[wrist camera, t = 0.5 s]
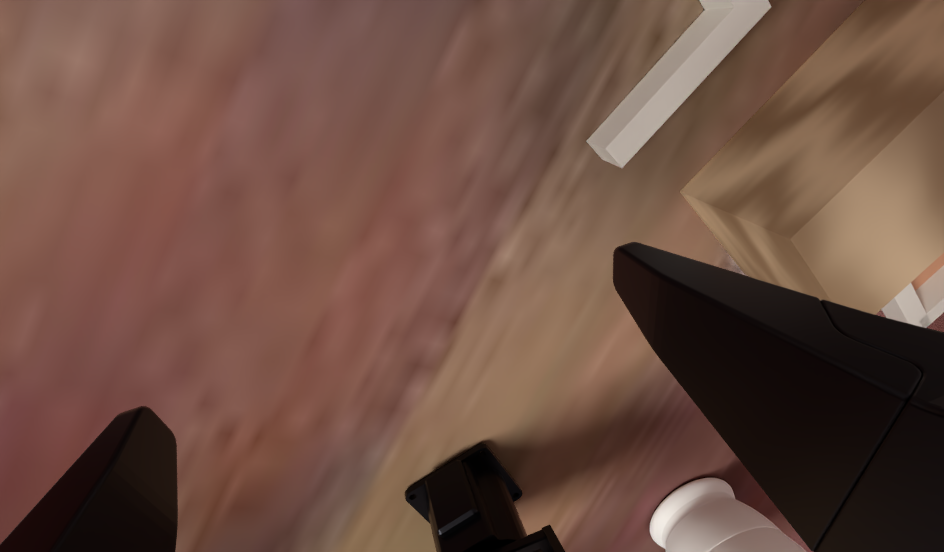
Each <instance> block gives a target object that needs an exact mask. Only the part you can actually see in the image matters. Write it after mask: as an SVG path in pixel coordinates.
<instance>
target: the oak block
mask: <svg viewBox="0 0 944 552" xmlns="http://www.w3.org/2000/svg"><path fill="white" fill-rule="evenodd" d="M680 193H681V194H682V195H683V196H684V198H685V199H686V200H687V202H688V203H689V204H690V205H691V207H692V208H693V209H694V210H695V212H696V213H697V214H698V215H699V217H700V218H701V219H702V221H703V222H704V223H705V224H706V226H707V227H708V228H709V229H710V231H711V232H712V233H713V234H714V236H715V237H716V238H717V239H718V241H719V242H720V243H721V245H722V246H723V247H724V248H725V250H726V251H727V252H728V253H729V255H730V256H731V257H732V258H733V260H734V261H735V262H736V264H737V265H738V266H739V267H740V269H741V270H742V271H743V272H744V274H746V275H748V276H750V277H752V278H755V279H758V280H762V281H765V282H768V283H771V284H775V285H778V286H781V287H784V288H788V289H791V290H794V291H798V292H801V293H804V294H807V295H811V296H814V297H817V298H819V300H822V299H824V300H827V301H831V302H834V303H837V304H840V305H844V306H847V307H850V308H854V309H857V310H861V311H864V312H868V313H871V314H874V315H875V314H877V313H878V312H879V311H880V310H881V309H882V308H883V307H884V306H885V305H887V304H888V303H889V302H890V301H891V300H892V299H893V298H894V297H895V296H896V295H898V294H899V293H900V292H901V291H902V290H903V289H904V288H905V287H906V286H908V285H909V284H910V283H911V282H912V281H913V280H914V279H915V278H916V277H917V276H919V275H920V274H921V273H922V272H923V271H924V270H925V269H926V268H927V267H928V266H930V265H931V264H932V263H933V262H934V261H935V260H936V259H937V258H938V257H940V256H941V255H942V254H943V253H944V0H865V1H864V2H863V3H862V4H861V5H860V6H859V7H858V8H857V9H856V10H855V11H854V12H853V13H852V14H851V15H850V16H849V17H848V18H847V19H846V20H845V21H844V22H843V23H842V24H841V25H840V26H839V27H838V28H837V30H836V31H835V32H834V33H833V34H832V35H831V36H830V37H829V38H828V39H827V40H826V41H825V42H824V43H823V44H822V45H821V46H820V47H819V48H818V49H817V50H816V51H815V52H814V53H813V54H812V55H811V56H810V57H809V58H808V59H807V61H806V62H805V63H804V64H803V65H802V66H801V67H800V68H799V69H798V70H797V71H796V72H795V73H794V74H793V75H792V76H791V77H790V78H789V79H788V80H787V81H786V82H785V83H784V84H783V85H782V86H781V87H780V88H779V89H778V90H777V92H776V93H775V94H774V95H773V96H772V97H771V98H770V99H769V100H768V101H767V102H766V103H765V104H764V105H763V106H762V107H761V108H760V109H759V110H758V111H757V112H756V113H755V114H754V115H753V116H752V117H751V118H750V119H749V120H748V121H747V123H746V124H745V125H744V126H743V127H742V128H741V129H740V130H739V131H738V132H737V133H736V134H735V135H734V136H733V137H732V138H731V139H730V140H729V141H728V142H727V143H726V144H725V145H724V146H723V147H722V148H721V149H720V150H719V151H718V152H717V154H716V155H715V156H714V157H713V158H712V159H711V160H710V161H709V162H708V163H707V164H706V165H705V166H704V167H703V168H702V169H701V170H700V171H699V172H698V173H697V174H696V175H695V176H694V177H693V178H692V179H691V180H690V181H689V182H688V184H687V185H686V186H685V187H684V188H683V189H682V190H681V191H680Z"/></svg>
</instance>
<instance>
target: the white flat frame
mask: <svg viewBox="0 0 944 552" xmlns="http://www.w3.org/2000/svg"><path fill="white" fill-rule="evenodd" d="M699 1H700V3H701V4H702V6H703V8H704V9H705V10H704V11H703V12H702V13H701V14H700V16H699V17H698V18H697V19H696V20H695V21H694V22H693V23H692V24H691V25H690V27H689V28H688V29H687V30H686V31H685V32H684V33H683V34H682V35H681V37H680V38H679V39H678V40H677V41H676V42H675V43H674V44H673V45H672V47H671V48H670V49H669V50H668V51H667V52H666V53H665V54H664V55H663V57H662V58H661V59H660V60H659V61H658V62H657V63H656V64H655V65H654V67H653V68H652V69H651V70H650V71H649V72H648V73H647V74H646V75H645V76H644V78H643V79H642V80H641V81H640V82H639V83H638V84H637V85H636V86H635V88H634V89H633V90H632V91H631V92H630V93H629V94H628V95H627V96H626V98H625V99H624V100H623V101H622V102H621V103H620V104H619V105H618V106H617V108H616V109H615V110H614V111H613V112H612V113H611V114H610V115H609V116H608V118H607V119H606V120H605V121H604V122H603V123H602V124H601V125H600V126H599V128H598V129H597V130H596V131H595V132H594V133H593V134H592V135H591V136H590V137H589V139H588V140H587V141H586V142H587V143H588V144H589V145H590V146H591V147H592V148H593V150H594V151H595V152H596V153H597V154H598V155H599V156H600V157H601V159H602V160H604V161H607V162H609V163H611V164H614V165H616V166H618V167H621V168H623V167H624V166H625V164H626V163H627V162H628V161H629V160H630V159H631V158H632V157H633V156H634V155H635V154H636V153H637V152H638V150H639V149H640V148H641V147H642V146H643V145H644V144H645V143H646V142H647V141H648V140H649V139H650V138H651V136H652V135H653V134H654V133H655V132H656V131H657V130H658V129H659V128H660V127H661V126H662V125H663V123H664V122H665V121H666V120H667V119H668V118H669V117H670V116H671V115H672V114H673V113H674V112H675V111H676V109H677V108H678V107H679V106H680V105H681V104H682V103H683V102H684V101H685V100H686V99H687V98H688V96H689V95H690V94H691V93H692V92H693V91H694V90H695V89H696V88H697V87H698V86H699V85H700V84H701V82H702V81H703V80H704V79H705V78H706V77H707V76H708V75H709V74H710V73H711V72H712V71H713V70H714V68H715V67H716V66H717V65H718V64H719V63H720V62H721V61H722V60H723V59H724V58H725V57H726V55H727V54H728V53H729V52H730V51H731V50H732V49H733V48H734V47H735V46H736V45H737V44H738V43H739V41H740V40H741V39H742V38H743V37H744V36H745V35H746V34H747V33H748V32H749V31H750V30H751V28H752V27H753V26H754V25H755V24H756V23H757V22H758V21H759V20H760V19H761V18H762V17H763V16H764V14H765V13H766V12H767V11H768V10H769V9H770V8H771V5H770V3H769V1H768V0H699ZM882 311H883V313H884V314H885V316H886V318H889V319H893V320H897V321H901V322H905V323H908V324H912V325H916V326H920V327H924V328H927V327H928V326H929V325H930V324H931V323H932V322H933V321H934V320H936V319H937V318H938V317H939V316H940V315H941V314H942V313H943V312H944V253H943V254H942V255H941V256H940V257H938V258H937V259H936V260H935V261H934V262H933V263H932V264H931V265H930V266H928V267H927V268H926V269H925V270H924V271H923V272H922V273H921V274H920V275H919V276H917V277H916V278H915V279H914V280H913V281H912V282H911V283H910V284H909V285H908V286H906V287H905V288H904V289H903V290H902V291H901V292H900V293H899V294H898V295H896V296H895V297H894V298H893V299H892V300H891V301H890V302H889V303H888V304H887V305H885V306H884V307H883V308H882Z"/></svg>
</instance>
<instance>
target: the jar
mask: <svg viewBox="0 0 944 552" xmlns="http://www.w3.org/2000/svg"><path fill="white" fill-rule="evenodd" d="M650 534H651V537H652V539H653V540H654V541H655V542H656V543H657V544H658V545H660V546H661V547H663V548H665V549H666V552H807V551H806V550H804V549H803V548H802V547H801V546H800V545H799V544H797V543H796V542H795V541H793V540H792V539H791V538H789V537H788V536H787V535H785V534H784V533H783V532H782V531H781V530H780V529H779V528H778V527H777V526H776V525H774V524H773V523H772V522H771V521H770V520H769V519H767V518H766V517H765V516H763V515H762V514H761V513H759V512H758V511H756V510H755V509H753V508H752V507H750V506H748V505H746V504H744V503H742V502H740V501H738V500H735V496H734V492H733V490H732V488H731V487H730V485H729V484H728V483H727V482H725V481H723V480H721V479H718V478H703V479H698V480H695V481H692V482H689V483H687V484H685V485H683V486H681V487H680V488H678V489H677V490H675V491H674V492H672V493H671V494H670V495H669V496H667V497H666V498H665V499H664V500H663V501H662V502H661V504H660V505H659V506H658V508H657V509H656V510H655V512H654V514H653V516H652V518H651V522H650Z"/></svg>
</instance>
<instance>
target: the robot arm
mask: <svg viewBox="0 0 944 552" xmlns="http://www.w3.org/2000/svg"><path fill="white" fill-rule="evenodd" d="M613 283H614V286H615V289H616V291H617V293H618V294H619V296H620V298H621V299H622V301H623V302H624V304H625V306H626V307H627V309H628V311H629V312H630V314H631V315H632V317H633V319H634V320H635V322H636V323H637V325H638V327H639V328H640V330H641V332H642V333H643V335H644V336H645V338H646V340H647V341H648V343H649V344H650V346H651V347H652V349H653V350H654V351H655V353H656V354H657V355H658V357H659V358H660V359H661V361H662V362H663V363H664V364H665V366H666V367H667V368H668V370H669V371H670V372H671V373H672V375H673V376H674V377H675V378H676V380H677V381H678V382H679V384H680V385H681V386H682V387H683V389H684V390H685V391H686V392H687V394H688V395H689V396H690V397H691V399H692V400H693V401H694V403H695V404H696V405H697V406H698V408H699V409H700V410H701V411H702V413H703V414H704V415H705V416H706V418H707V419H708V420H709V422H710V423H711V424H712V425H713V427H714V428H715V429H716V430H717V432H718V433H719V434H720V436H721V437H722V438H723V439H724V441H725V442H726V443H727V444H728V446H729V447H730V448H731V449H732V451H733V452H734V453H735V455H736V456H737V457H738V458H739V460H740V461H741V462H742V463H743V465H744V466H745V467H746V468H747V470H748V471H749V472H750V474H751V475H752V476H753V477H754V479H755V480H756V481H757V482H758V484H759V485H760V486H761V488H762V489H763V490H764V491H765V493H766V494H767V495H768V496H769V498H770V499H771V500H772V501H773V503H774V504H775V505H776V507H777V508H778V509H779V510H780V512H781V513H782V514H783V515H784V517H785V518H786V519H787V520H788V522H789V523H790V524H791V526H792V527H793V528H794V529H795V531H796V532H797V533H798V534H799V536H800V537H801V538H802V540H803V541H804V542H805V543H806V545H807V546H808V547H809V548H810V550H811V551H814V552H944V332H940V331H936V330H932V329H928V328H924V327H920V326H916V325H912V324H908V323H905V322H901V321H897V320H893V319H889V318H885V317H881V316H878V315H874V314H871V313H868V312H864V311H861V310H857V309H854V308H850V307H847V306H844V305H840V304H837V303H834V302H831V301H827V300H824V299H822V300H819V298H817V297H814V296H811V295H807V294H804V293H801V292H798V291H794V290H791V289H788V288H784V287H781V286H778V285H775V284H771V283H768V282H765V281H762V280H758V279H755V278H752V277H749V276H745V275H742V274H739V273H735V272H732V271H729V270H726V269H722V268H719V267H716V266H713V265H709V264H706V263H703V262H700V261H696V260H693V259H690V258H686V257H683V256H680V255H677V254H673V253H670V252H667V251H664V250H660V249H657V248H654V247H651V246H647V245H644V244H641V243H637V242H631V243H628V244H625V245H622V246H619V247H617V248H616V249H615V250H614V255H613ZM481 451H482V452H481ZM412 494H413V495H412ZM521 496H522V491H521V489H520V487H519V486H518V484H517V483H516V482H515V480H514V479H513V478H512V477H511V475H510V474H509V473H508V472H507V470H506V469H505V468H504V466H503V465H502V464H501V463H500V461H499V460H498V459H497V457H496V456H495V455H494V454H493V452H492V451H491V450H490V448H489V447H488V446H487V445H486V444H479V445H477V446H475V447H474V448H472V449H471V450H469V451H467V452H466V453H464V454H463V455H461V456H459V457H458V458H456V459H454V460H453V461H451V462H450V463H448V464H446V465H445V466H443V467H442V468H440V469H438V470H437V471H435V472H434V473H432V474H430V475H429V476H427V477H426V478H424V479H422V480H421V481H419V482H418V483H416V484H414V485H413V486H411V487H410V488H408V489H407V490H406V491H405V499H406V501H407V502H408V503H409V504H410V505H411V506H412V507H413V508H414V509H415V510H417V511H418V512H419V513H420V514H421V515H422V516H423V517H424V518H425V519H426V520H427V521H428V522H429V523H430V525H431V529H432V534H433V538H434V542H435V547H436V551H437V552H565V551H564V549H563V547H562V545H561V544H560V542H559V540H558V538H557V536H556V535H555V533H554V531H553V529H552V528H551V526H550V525H548V526H545V527H543V528H542V530H540V531H537V532H535V533H533V534H530V535H528V536H527V534H526V531H525V529H524V527H523V524H522V522H521V519H520V517H519V515H518V512H517V510H516V507H515V505H514V503H513V502H514V501H516V500H517V499H519V498H520V497H521ZM177 524H178V500H177V445H176V439H175V436H174V434H173V433H172V431H171V430H170V429H169V428H168V427H167V426H166V425H165V424H164V422H163V421H162V420H161V419H160V418H159V417H158V416H157V415H156V414H155V413H154V412H153V411H152V410H151V409H150V408H148V407H146V406H141V407H137V408H134V409H131V410H128V411H125V412H123V413H120V414H119V415H117V416H116V417H115V418H114V419H113V421H112V422H111V423H110V424H109V425H108V426H107V427H106V428H105V429H104V431H103V432H102V433H101V434H100V435H99V436H98V437H97V438H96V439H95V440H94V442H93V443H92V444H91V445H90V446H89V447H88V448H87V449H86V450H85V452H84V453H83V454H82V455H81V456H80V457H79V458H78V459H77V460H76V461H75V463H74V464H73V465H72V466H71V467H70V468H69V469H68V470H67V471H66V473H65V474H64V475H63V476H62V477H61V478H60V479H59V480H58V481H57V482H56V484H55V485H54V486H53V487H52V488H51V489H50V490H49V491H48V492H47V494H46V495H45V496H44V497H43V498H42V499H41V500H40V501H39V502H38V503H37V505H36V506H35V507H34V508H33V509H32V510H31V511H30V512H29V513H28V515H27V516H26V517H25V518H24V519H23V520H22V521H21V522H20V523H19V524H18V526H17V527H16V528H15V529H14V530H13V531H12V532H11V533H10V534H9V536H8V537H7V538H6V539H5V540H4V541H3V542H2V543H1V544H0V552H175V548H176V538H177Z"/></svg>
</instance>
